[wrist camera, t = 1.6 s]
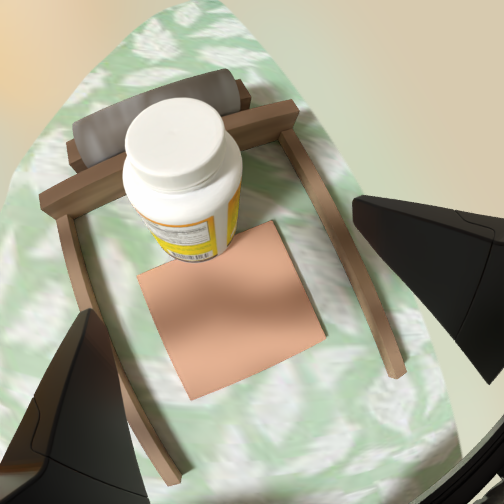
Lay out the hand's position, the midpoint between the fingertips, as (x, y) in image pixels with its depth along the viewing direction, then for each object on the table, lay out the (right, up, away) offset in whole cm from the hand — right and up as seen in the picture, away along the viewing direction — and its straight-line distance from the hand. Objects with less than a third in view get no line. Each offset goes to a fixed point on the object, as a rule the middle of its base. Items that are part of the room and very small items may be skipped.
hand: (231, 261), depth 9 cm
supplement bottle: (-3, +2, +12) cm, 12 cm away
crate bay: (-2, -2, +11) cm, 11 cm away
